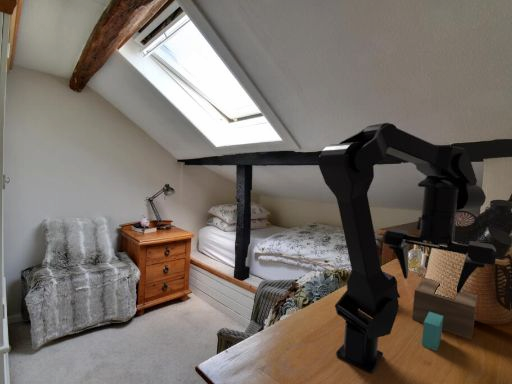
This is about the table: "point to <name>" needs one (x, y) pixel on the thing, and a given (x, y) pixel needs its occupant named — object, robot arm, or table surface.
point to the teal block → (432, 331)
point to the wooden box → (445, 308)
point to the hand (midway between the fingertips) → (430, 284)
